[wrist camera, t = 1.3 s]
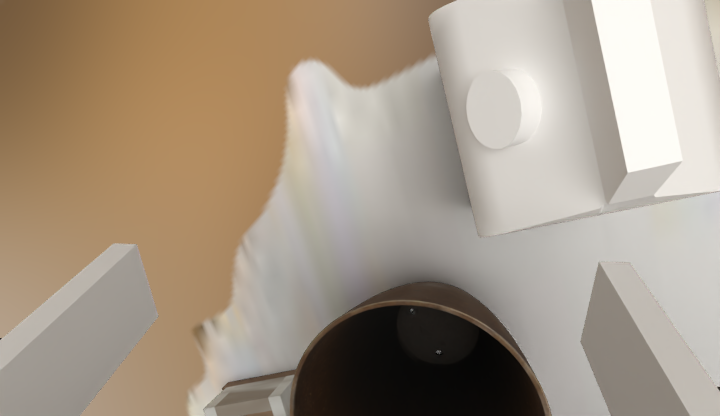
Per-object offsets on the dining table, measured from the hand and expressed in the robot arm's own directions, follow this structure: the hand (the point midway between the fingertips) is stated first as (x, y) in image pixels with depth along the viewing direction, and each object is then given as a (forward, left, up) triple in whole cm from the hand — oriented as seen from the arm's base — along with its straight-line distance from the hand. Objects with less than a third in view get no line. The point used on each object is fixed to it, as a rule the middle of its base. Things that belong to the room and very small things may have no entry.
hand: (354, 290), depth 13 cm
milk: (+4, -9, -28) cm, 29 cm away
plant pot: (-11, +3, -28) cm, 30 cm away
